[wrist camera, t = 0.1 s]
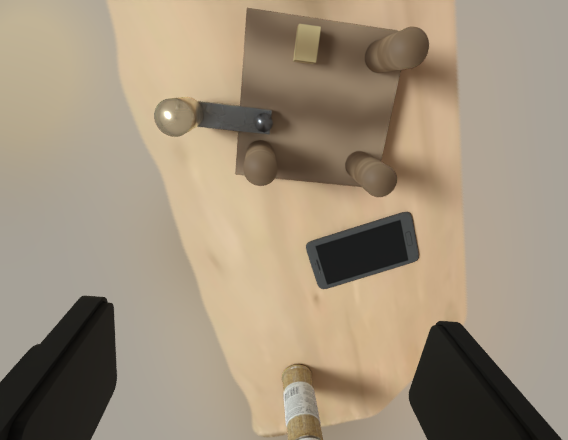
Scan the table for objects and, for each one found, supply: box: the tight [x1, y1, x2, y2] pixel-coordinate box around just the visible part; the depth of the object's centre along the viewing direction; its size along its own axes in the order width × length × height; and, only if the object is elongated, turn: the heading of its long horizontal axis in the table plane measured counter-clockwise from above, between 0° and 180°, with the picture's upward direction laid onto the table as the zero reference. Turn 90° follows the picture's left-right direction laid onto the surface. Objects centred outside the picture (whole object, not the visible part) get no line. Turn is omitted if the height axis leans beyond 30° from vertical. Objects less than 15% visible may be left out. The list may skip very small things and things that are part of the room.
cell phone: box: [306, 212, 419, 289], centre depth 44 cm, size 7×14×1 cm, turn 107°
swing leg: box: [154, 97, 273, 137], centre depth 32 cm, size 10×3×7 cm, turn 83°
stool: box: [235, 8, 429, 197], centre depth 33 cm, size 16×16×10 cm
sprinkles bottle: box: [282, 364, 323, 440], centre depth 45 cm, size 5×5×13 cm
